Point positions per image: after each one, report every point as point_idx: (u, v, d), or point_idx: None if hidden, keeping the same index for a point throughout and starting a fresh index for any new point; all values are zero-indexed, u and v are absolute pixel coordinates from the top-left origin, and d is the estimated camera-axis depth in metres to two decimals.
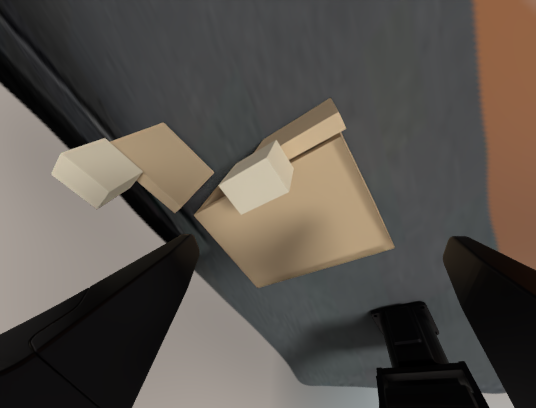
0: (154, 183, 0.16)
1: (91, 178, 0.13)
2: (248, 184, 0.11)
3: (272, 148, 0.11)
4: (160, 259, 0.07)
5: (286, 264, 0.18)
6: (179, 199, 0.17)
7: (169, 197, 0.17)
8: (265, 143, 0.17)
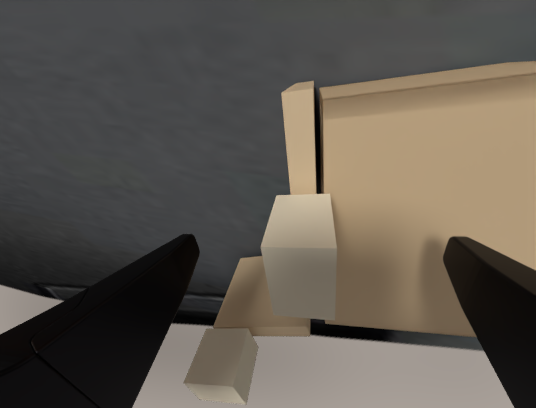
0: (266, 327, 0.14)
1: (214, 386, 0.12)
2: (291, 287, 0.07)
3: (271, 217, 0.07)
4: (160, 259, 0.07)
5: None
6: (298, 320, 0.14)
7: (289, 328, 0.14)
8: None
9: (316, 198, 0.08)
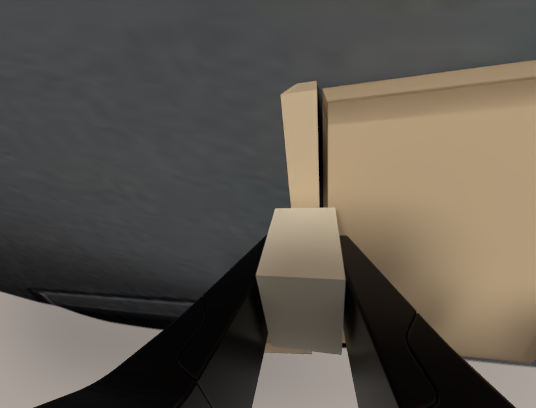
0: None
1: None
2: (292, 318, 0.06)
3: (268, 236, 0.06)
4: None
5: (527, 303, 0.09)
6: None
7: None
8: None
9: (320, 213, 0.07)
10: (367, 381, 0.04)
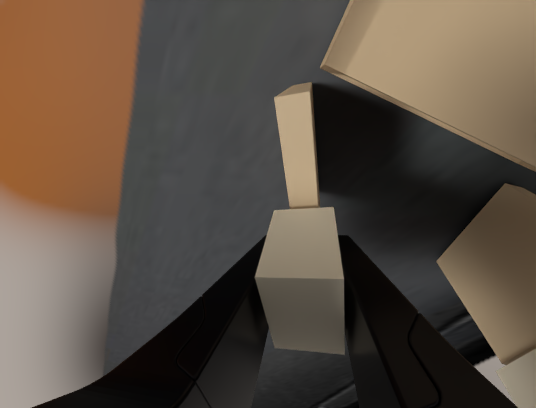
0: None
1: None
2: (293, 319, 0.06)
3: (267, 238, 0.06)
4: None
5: None
6: None
7: None
8: None
9: (318, 213, 0.07)
10: (369, 381, 0.04)
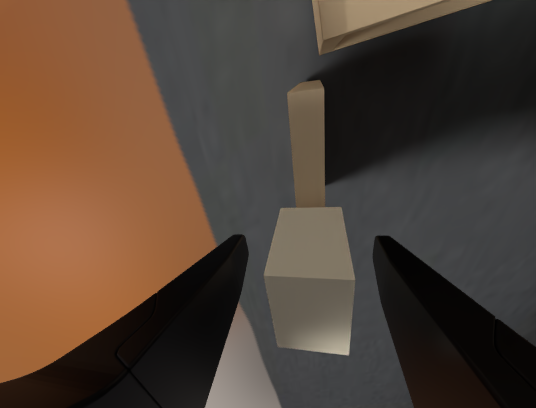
0: None
1: None
2: (299, 319, 0.06)
3: (275, 236, 0.06)
4: (222, 261, 0.07)
5: None
6: None
7: None
8: None
9: (326, 212, 0.07)
10: (442, 392, 0.04)
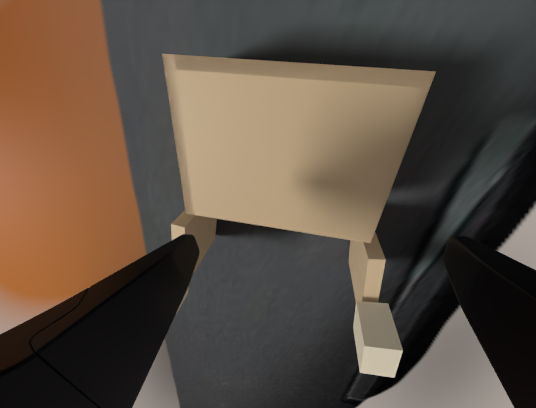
0: (365, 286, 0.15)
1: (364, 356, 0.13)
2: None
3: None
4: (160, 259, 0.07)
5: (326, 105, 0.10)
6: (366, 260, 0.15)
7: (368, 271, 0.14)
8: None
9: None
10: None
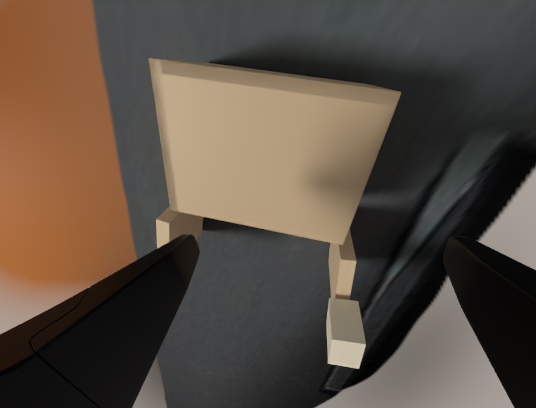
0: (337, 285, 0.16)
1: (331, 349, 0.14)
2: None
3: None
4: (160, 259, 0.07)
5: (303, 116, 0.11)
6: (339, 261, 0.16)
7: (340, 271, 0.15)
8: None
9: None
10: None
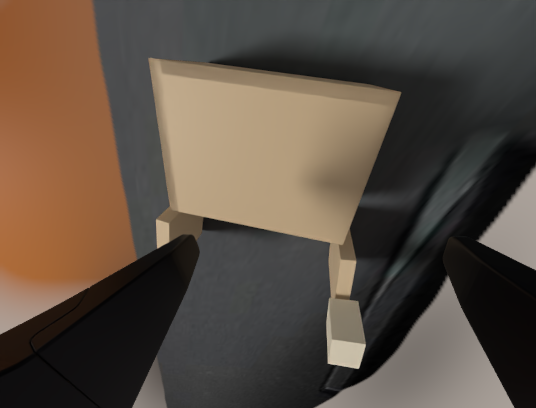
0: (337, 285, 0.16)
1: (331, 349, 0.14)
2: None
3: None
4: (160, 259, 0.07)
5: (303, 116, 0.11)
6: (339, 261, 0.16)
7: (340, 271, 0.15)
8: None
9: None
10: None
